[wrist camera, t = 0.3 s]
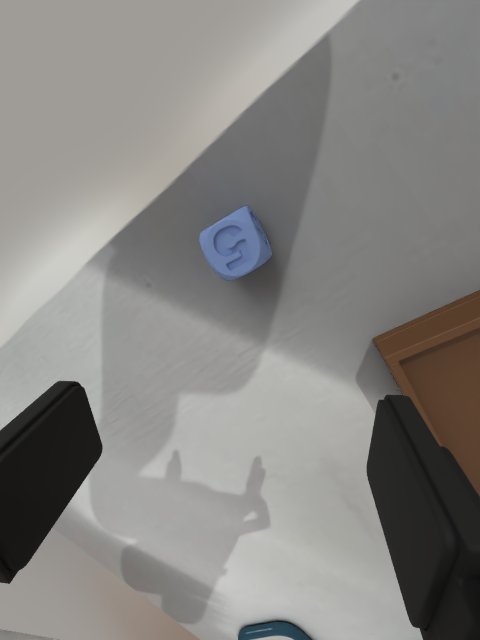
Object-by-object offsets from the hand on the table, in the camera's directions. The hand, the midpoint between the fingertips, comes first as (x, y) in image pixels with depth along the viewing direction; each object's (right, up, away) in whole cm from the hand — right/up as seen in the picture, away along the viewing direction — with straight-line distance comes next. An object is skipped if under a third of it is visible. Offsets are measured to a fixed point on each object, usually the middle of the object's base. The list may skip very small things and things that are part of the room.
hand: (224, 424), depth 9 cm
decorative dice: (+1, +10, +15) cm, 18 cm away
